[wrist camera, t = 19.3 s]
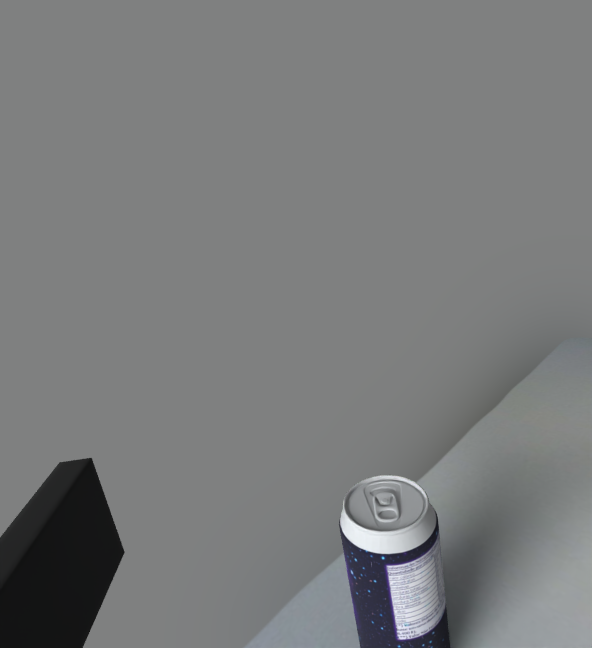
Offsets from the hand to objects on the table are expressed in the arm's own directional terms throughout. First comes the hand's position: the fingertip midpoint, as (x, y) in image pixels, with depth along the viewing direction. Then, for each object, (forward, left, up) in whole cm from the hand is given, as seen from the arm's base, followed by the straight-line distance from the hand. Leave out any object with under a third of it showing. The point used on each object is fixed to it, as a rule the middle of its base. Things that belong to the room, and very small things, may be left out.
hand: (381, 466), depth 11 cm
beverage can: (+1, +14, -24) cm, 28 cm away
